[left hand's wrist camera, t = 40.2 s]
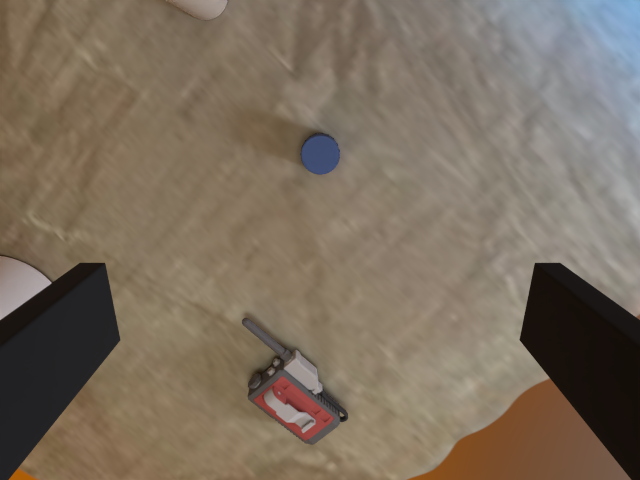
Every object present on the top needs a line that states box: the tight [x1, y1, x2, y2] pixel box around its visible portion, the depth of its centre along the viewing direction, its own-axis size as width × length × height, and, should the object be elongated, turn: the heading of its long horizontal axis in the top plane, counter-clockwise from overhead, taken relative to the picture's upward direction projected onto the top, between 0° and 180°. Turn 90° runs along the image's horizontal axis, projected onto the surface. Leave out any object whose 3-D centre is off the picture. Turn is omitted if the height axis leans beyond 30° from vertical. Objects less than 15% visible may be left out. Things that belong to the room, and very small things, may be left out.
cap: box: [301, 133, 340, 174], centre depth 43 cm, size 4×4×2 cm
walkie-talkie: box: [242, 318, 348, 444], centre depth 52 cm, size 9×4×20 cm
